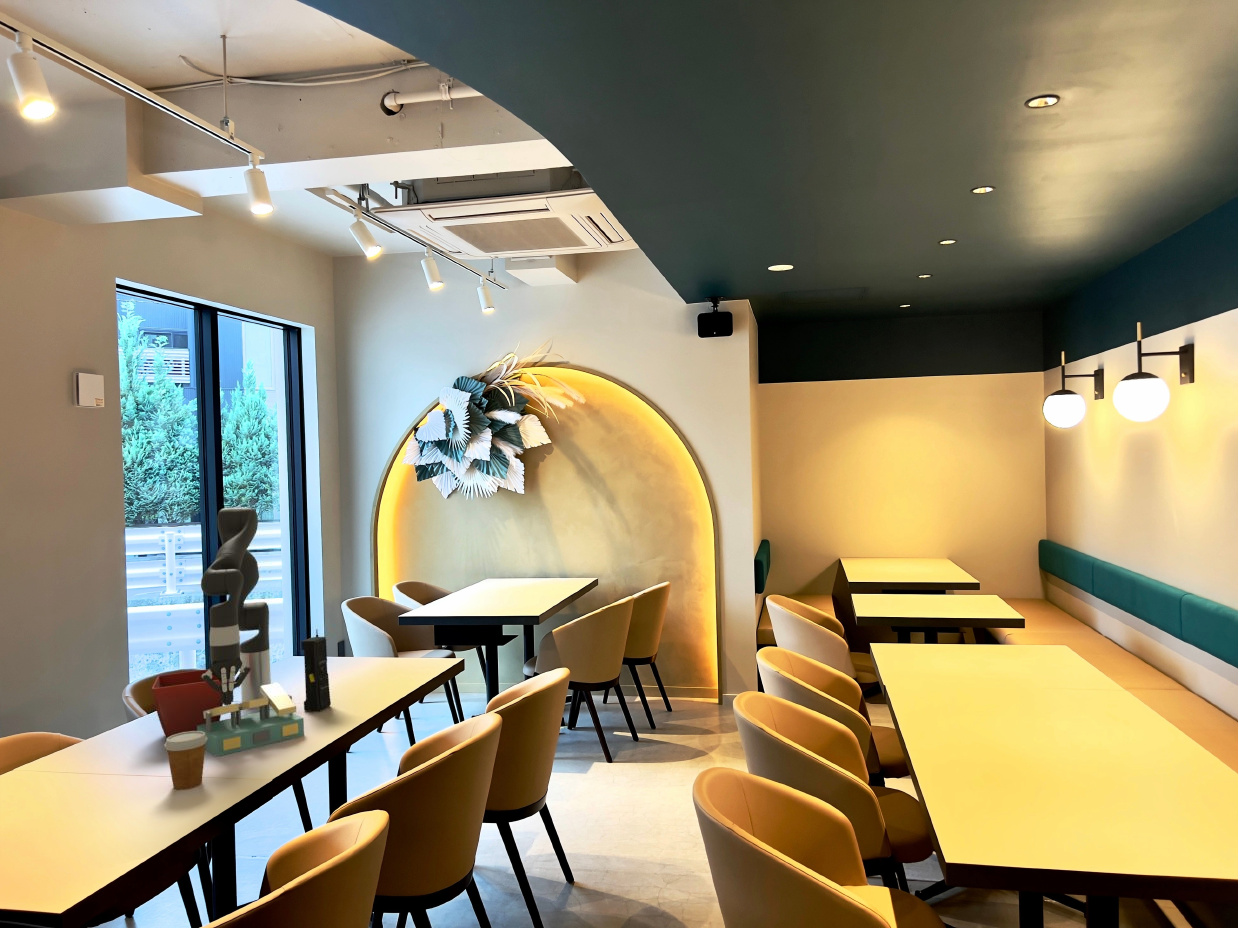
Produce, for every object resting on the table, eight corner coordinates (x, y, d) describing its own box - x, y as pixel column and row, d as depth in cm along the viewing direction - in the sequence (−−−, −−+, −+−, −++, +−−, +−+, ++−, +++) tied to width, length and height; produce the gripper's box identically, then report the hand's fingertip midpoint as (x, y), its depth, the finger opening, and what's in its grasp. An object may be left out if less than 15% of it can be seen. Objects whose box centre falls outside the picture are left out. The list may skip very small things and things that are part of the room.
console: (197, 742, 244) (196, 707, 244) (282, 723, 260) (280, 690, 261) (217, 756, 231) (215, 718, 232) (304, 735, 248) (303, 700, 248)
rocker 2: (233, 712, 250) (232, 705, 250) (250, 708, 253) (250, 701, 253) (249, 707, 239) (249, 700, 239) (268, 704, 242) (267, 696, 243)
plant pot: (160, 729, 259) (158, 674, 259) (229, 720, 267) (227, 666, 267) (153, 747, 242) (151, 688, 242) (227, 736, 249) (225, 679, 249)
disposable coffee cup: (176, 779, 215) (174, 731, 215) (215, 776, 216) (213, 729, 216) (158, 793, 206) (157, 743, 206) (200, 790, 206) (198, 740, 206)
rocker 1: (203, 718, 244) (203, 711, 245) (222, 714, 248) (221, 707, 248) (219, 714, 234) (218, 706, 234) (238, 710, 237) (237, 702, 237)
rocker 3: (260, 691, 255) (260, 685, 255) (277, 688, 259) (277, 682, 258) (278, 715, 245) (279, 709, 244) (295, 712, 248) (296, 705, 248)
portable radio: (318, 712, 271) (315, 633, 271) (301, 712, 272) (298, 633, 272) (332, 705, 279) (329, 629, 279) (315, 705, 280) (312, 629, 280)
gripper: (245, 636, 244) (247, 697, 244) (195, 644, 235) (197, 707, 235) (254, 639, 238) (256, 701, 238) (203, 647, 229) (206, 712, 229)
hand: (227, 704), depth 236 cm, fingers closed
